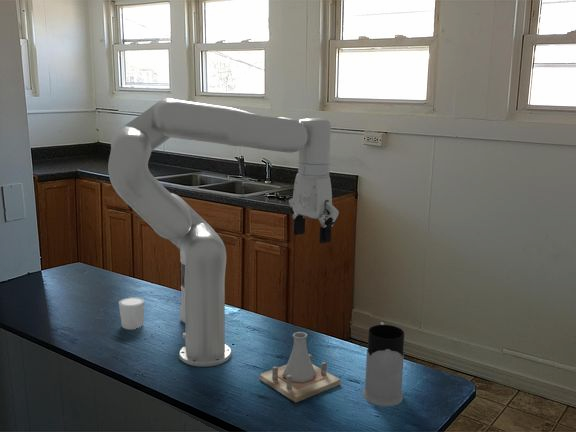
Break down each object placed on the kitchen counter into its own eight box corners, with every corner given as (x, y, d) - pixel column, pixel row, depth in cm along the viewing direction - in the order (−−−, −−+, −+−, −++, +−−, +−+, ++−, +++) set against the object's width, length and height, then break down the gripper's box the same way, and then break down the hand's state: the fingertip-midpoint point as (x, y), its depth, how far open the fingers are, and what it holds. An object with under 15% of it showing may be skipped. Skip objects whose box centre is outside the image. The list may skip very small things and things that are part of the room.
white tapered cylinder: (127, 332, 163) (126, 307, 162) (115, 324, 168) (114, 300, 167) (150, 326, 168) (149, 301, 166) (138, 318, 173) (137, 295, 171)
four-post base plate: (259, 379, 140) (259, 362, 139) (302, 363, 148) (303, 348, 147) (295, 402, 130) (296, 385, 129) (340, 384, 138) (340, 368, 137)
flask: (294, 365, 144) (295, 325, 141) (321, 374, 140) (322, 333, 137) (276, 377, 138) (277, 335, 135) (303, 386, 134) (304, 344, 131)
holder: (363, 405, 129) (367, 339, 126) (359, 373, 143) (362, 313, 140) (405, 407, 129) (410, 341, 126) (397, 375, 143) (401, 314, 140)
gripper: (279, 166, 153) (278, 233, 156) (326, 176, 140) (324, 248, 143) (302, 164, 157) (301, 229, 161) (350, 173, 144) (347, 243, 148)
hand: (311, 238), depth 152 cm, fingers open, 9 cm apart
